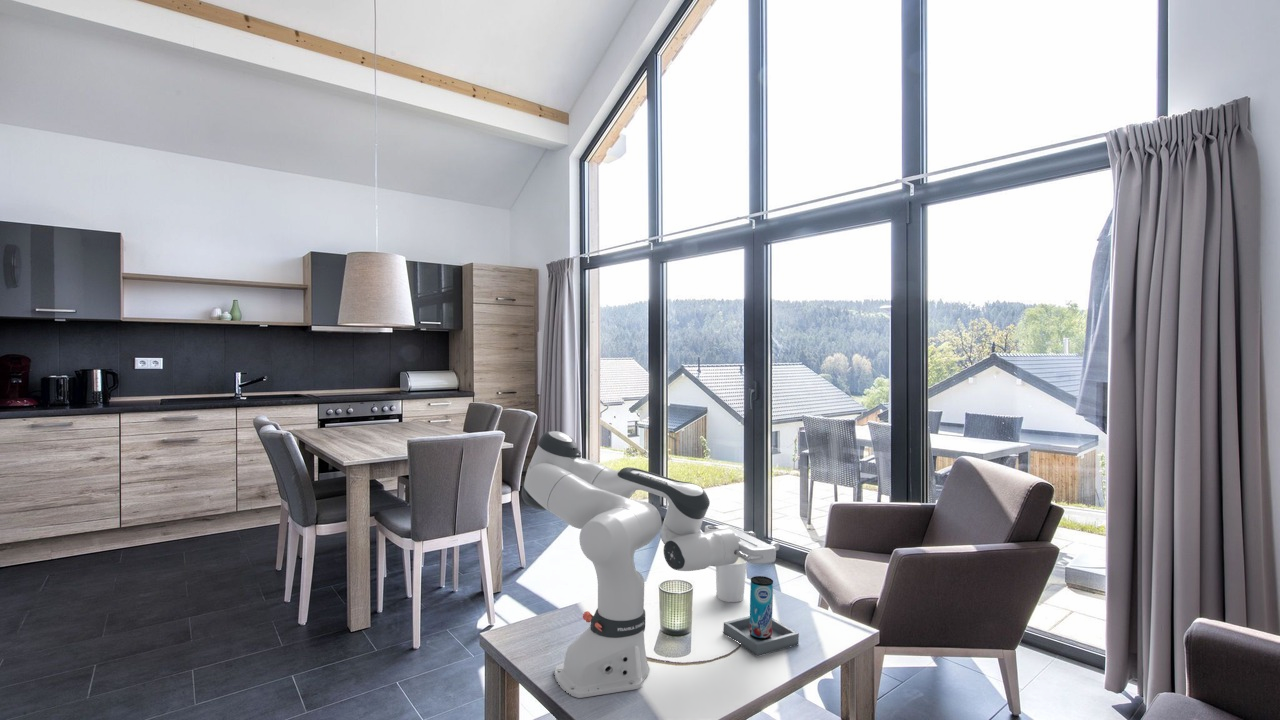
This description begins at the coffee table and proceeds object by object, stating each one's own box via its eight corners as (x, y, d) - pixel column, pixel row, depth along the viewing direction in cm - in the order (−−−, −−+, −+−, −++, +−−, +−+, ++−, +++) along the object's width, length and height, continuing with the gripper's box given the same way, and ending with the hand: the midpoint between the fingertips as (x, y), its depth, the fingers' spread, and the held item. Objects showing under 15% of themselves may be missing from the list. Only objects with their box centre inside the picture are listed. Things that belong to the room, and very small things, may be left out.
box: (757, 656, 154) (757, 644, 154) (723, 633, 166) (723, 622, 166) (798, 644, 161) (798, 633, 161) (763, 623, 173) (763, 612, 173)
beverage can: (750, 640, 161) (752, 583, 161) (747, 629, 167) (749, 575, 167) (773, 641, 161) (775, 584, 161) (769, 631, 167) (771, 576, 166)
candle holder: (752, 599, 189) (753, 561, 189) (728, 605, 184) (729, 566, 184) (731, 588, 198) (732, 551, 197) (707, 594, 192) (708, 556, 192)
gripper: (750, 547, 147) (793, 540, 154) (701, 523, 165) (742, 518, 172) (749, 573, 147) (792, 565, 154) (700, 546, 165) (741, 540, 172)
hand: (765, 540), depth 163 cm, fingers open, 8 cm apart
